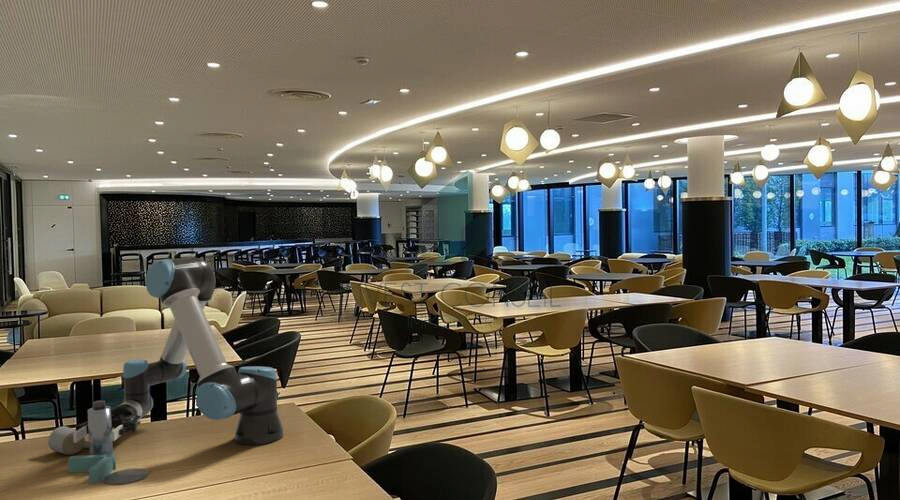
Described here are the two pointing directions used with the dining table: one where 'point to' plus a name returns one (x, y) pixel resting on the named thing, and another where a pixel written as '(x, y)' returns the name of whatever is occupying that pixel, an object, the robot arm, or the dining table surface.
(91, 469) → the bent rail
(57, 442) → the ceramic mug
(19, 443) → the dining table surface
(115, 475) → the coaster
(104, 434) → the bottle
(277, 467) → the dining table surface
